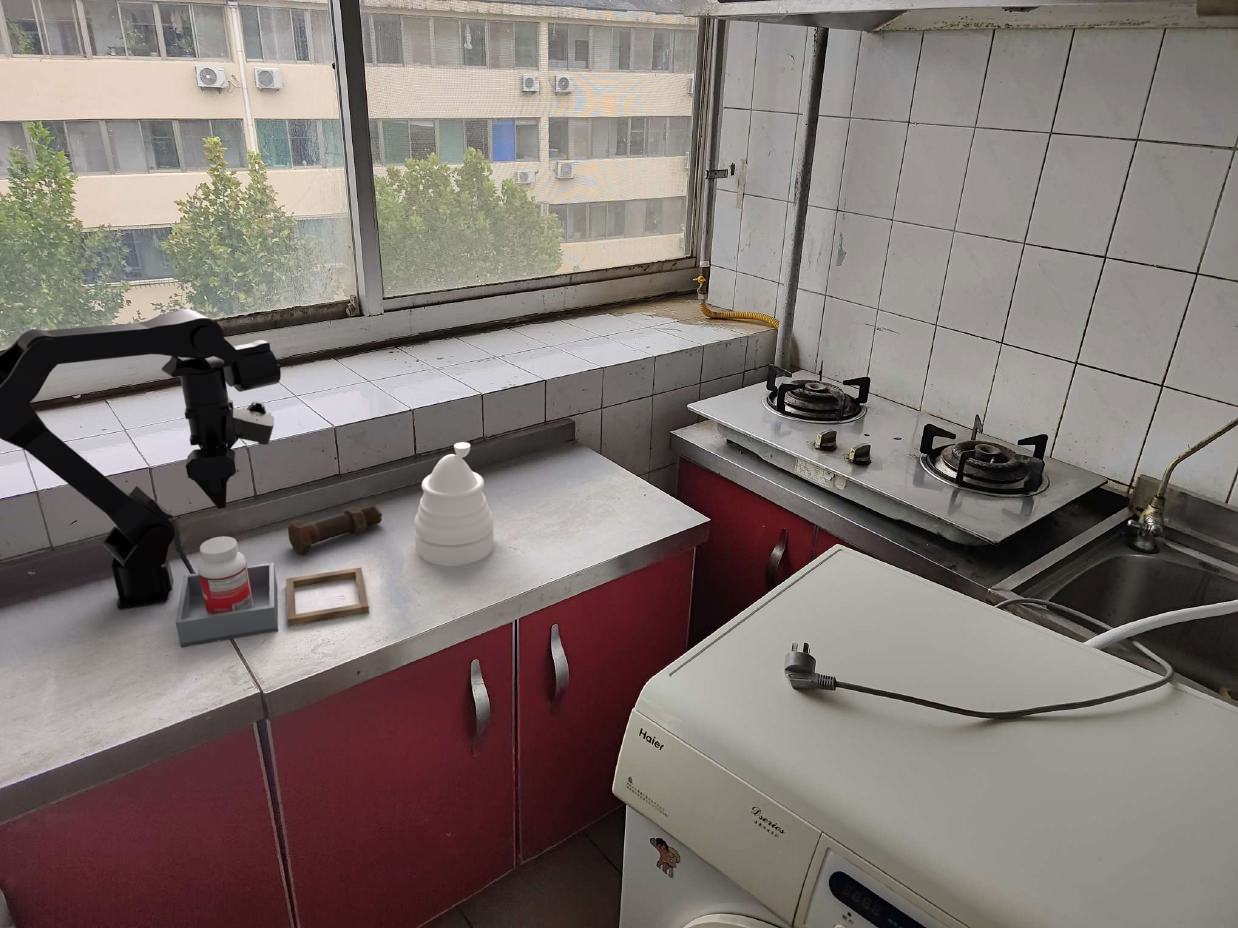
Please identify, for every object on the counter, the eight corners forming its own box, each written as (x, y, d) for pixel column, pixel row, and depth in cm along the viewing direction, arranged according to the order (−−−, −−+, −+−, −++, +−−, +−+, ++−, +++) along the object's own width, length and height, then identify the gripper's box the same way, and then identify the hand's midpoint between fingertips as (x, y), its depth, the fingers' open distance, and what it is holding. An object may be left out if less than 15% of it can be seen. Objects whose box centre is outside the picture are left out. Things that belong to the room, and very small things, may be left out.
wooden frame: (288, 626, 117) (287, 619, 116) (287, 585, 126) (286, 578, 125) (369, 612, 121) (368, 606, 120) (362, 573, 130) (361, 567, 129)
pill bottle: (214, 600, 121) (201, 534, 116) (258, 597, 122) (247, 532, 117) (201, 625, 115) (187, 557, 111) (248, 622, 116) (236, 555, 111)
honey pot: (474, 520, 147) (471, 426, 139) (506, 553, 137) (505, 454, 130) (404, 537, 140) (397, 440, 133) (433, 573, 131) (427, 471, 123)
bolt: (381, 534, 145) (298, 561, 135) (368, 512, 147) (285, 537, 137) (389, 514, 141) (304, 540, 131) (375, 492, 143) (290, 516, 133)
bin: (181, 647, 112) (175, 622, 110) (188, 598, 122) (183, 575, 120) (278, 630, 116) (274, 607, 114) (277, 584, 126) (273, 562, 124)
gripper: (266, 416, 115) (280, 515, 121) (266, 374, 130) (279, 463, 137) (176, 424, 111) (196, 525, 117) (188, 379, 127) (205, 471, 133)
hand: (223, 494), depth 126 cm, fingers open, 9 cm apart
